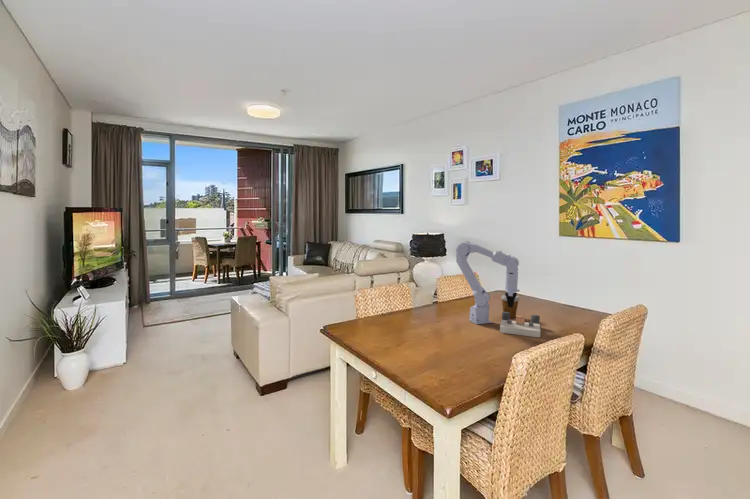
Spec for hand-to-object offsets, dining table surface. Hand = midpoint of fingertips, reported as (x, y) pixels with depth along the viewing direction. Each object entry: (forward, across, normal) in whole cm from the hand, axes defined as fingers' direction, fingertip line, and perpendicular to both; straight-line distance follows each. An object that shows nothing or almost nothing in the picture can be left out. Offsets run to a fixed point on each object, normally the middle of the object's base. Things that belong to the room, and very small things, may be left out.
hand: (510, 306), depth 189 cm
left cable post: (+10, +2, +2) cm, 10 cm away
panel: (+10, -6, -5) cm, 13 cm away
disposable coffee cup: (+10, +16, +1) cm, 19 cm away
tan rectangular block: (+6, -6, -5) cm, 10 cm away
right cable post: (+10, +2, -12) cm, 16 cm away
